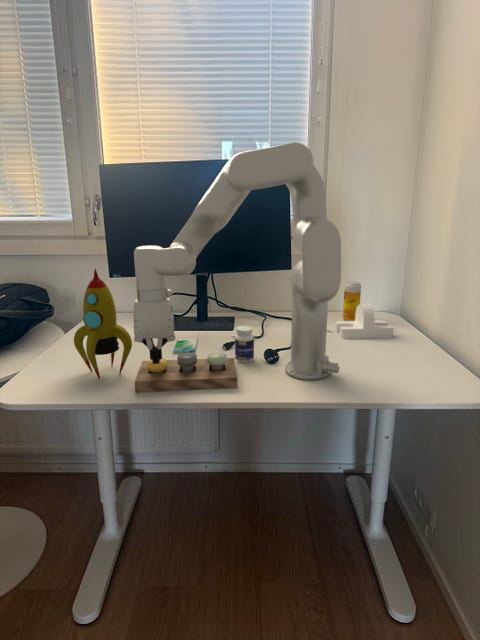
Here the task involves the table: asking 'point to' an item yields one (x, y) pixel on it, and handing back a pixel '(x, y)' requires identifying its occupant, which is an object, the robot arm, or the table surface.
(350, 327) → the u-slot stand
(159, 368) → the button amber
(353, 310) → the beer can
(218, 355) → the button sage
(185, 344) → the smartphone
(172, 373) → the console
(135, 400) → the table surface
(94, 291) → the toy rocket
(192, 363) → the grey rounded lump
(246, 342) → the pill bottle
